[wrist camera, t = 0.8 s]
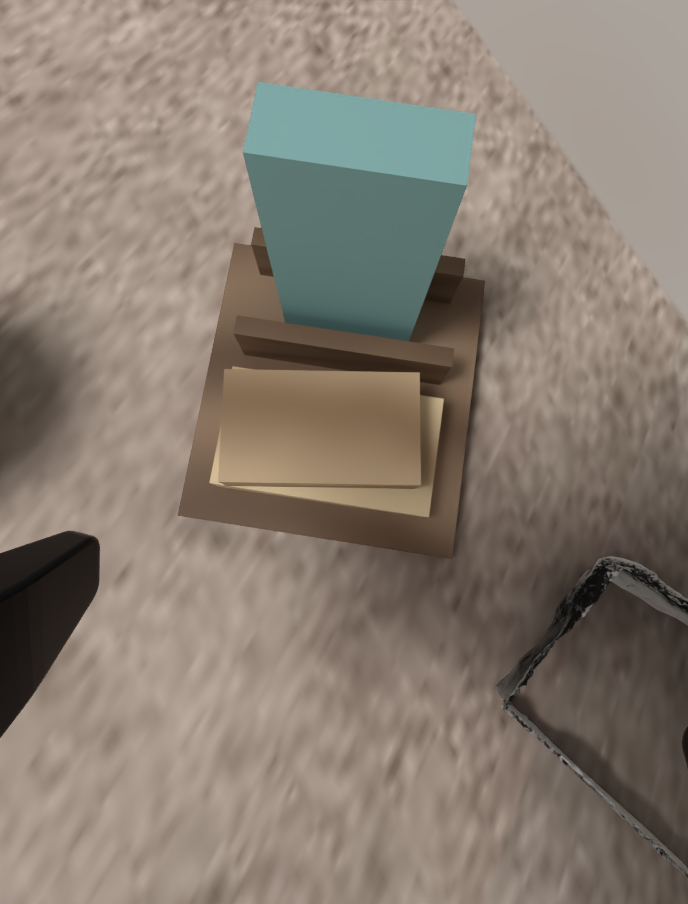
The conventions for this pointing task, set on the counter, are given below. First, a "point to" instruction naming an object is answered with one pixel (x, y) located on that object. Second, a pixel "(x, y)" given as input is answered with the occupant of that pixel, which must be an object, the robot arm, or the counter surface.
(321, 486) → the offcut stack
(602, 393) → the counter surface
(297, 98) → the turquoise upright pillar
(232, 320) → the walnut rack
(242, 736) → the counter surface
